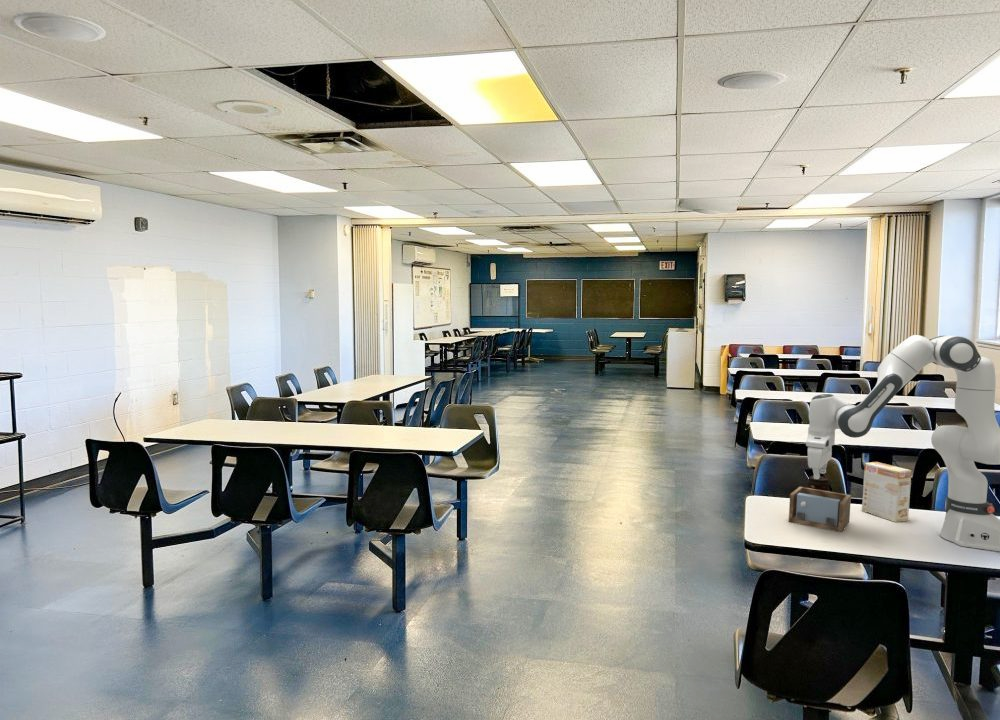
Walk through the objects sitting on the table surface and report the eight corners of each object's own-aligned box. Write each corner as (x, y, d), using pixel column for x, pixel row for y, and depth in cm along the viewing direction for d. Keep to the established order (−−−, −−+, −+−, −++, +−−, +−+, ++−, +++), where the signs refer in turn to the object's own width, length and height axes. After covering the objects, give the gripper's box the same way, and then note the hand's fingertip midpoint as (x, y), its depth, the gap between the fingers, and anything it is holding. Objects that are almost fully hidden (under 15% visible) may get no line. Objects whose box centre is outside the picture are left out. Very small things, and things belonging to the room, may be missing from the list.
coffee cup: (831, 509, 270) (832, 477, 269) (828, 514, 263) (830, 481, 262) (807, 505, 275) (808, 473, 274) (803, 510, 268) (805, 478, 267)
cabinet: (849, 522, 254) (850, 495, 253) (841, 532, 243) (843, 503, 242) (798, 513, 265) (799, 486, 264) (788, 521, 254) (790, 494, 253)
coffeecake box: (909, 520, 257) (912, 470, 256) (895, 522, 255) (898, 471, 253) (874, 509, 271) (877, 461, 269) (861, 511, 268) (864, 462, 267)
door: (838, 523, 247) (840, 499, 247) (836, 527, 244) (837, 502, 243) (798, 516, 256) (799, 492, 255) (795, 519, 252) (796, 495, 252)
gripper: (818, 433, 258) (817, 468, 259) (804, 442, 242) (803, 480, 243) (836, 435, 254) (835, 471, 255) (824, 444, 238) (822, 483, 239)
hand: (819, 475), depth 249 cm, fingers open, 8 cm apart
